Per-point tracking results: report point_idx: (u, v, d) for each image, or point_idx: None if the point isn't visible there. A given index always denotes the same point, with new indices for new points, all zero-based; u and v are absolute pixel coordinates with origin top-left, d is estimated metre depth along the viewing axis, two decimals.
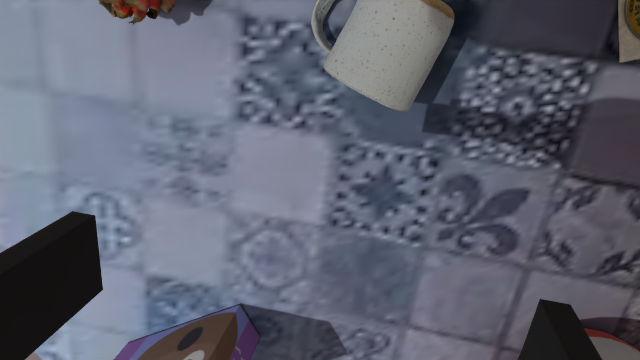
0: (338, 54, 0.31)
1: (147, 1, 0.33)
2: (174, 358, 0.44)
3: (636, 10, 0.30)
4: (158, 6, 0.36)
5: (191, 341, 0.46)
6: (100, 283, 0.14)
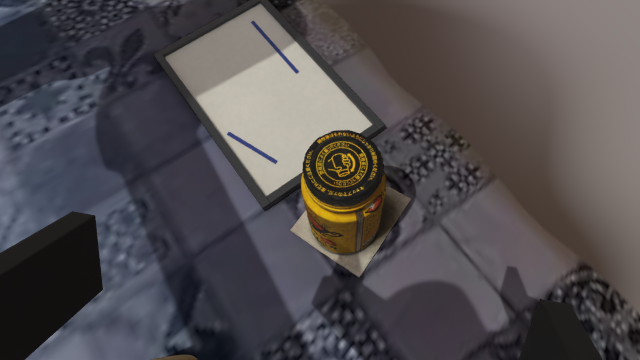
0: None
1: None
2: None
3: (323, 243, 0.35)
4: None
5: None
6: (100, 283, 0.14)
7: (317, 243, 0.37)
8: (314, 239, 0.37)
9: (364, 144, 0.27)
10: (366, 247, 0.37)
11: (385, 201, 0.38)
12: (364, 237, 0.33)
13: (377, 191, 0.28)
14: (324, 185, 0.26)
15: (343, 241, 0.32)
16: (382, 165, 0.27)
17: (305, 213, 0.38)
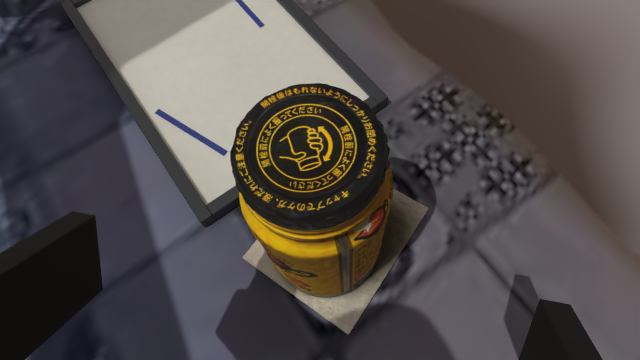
0: None
1: None
2: None
3: (290, 281, 0.22)
4: None
5: None
6: (100, 283, 0.14)
7: (283, 278, 0.24)
8: (279, 271, 0.24)
9: (351, 108, 0.14)
10: (360, 285, 0.23)
11: (389, 211, 0.25)
12: (355, 274, 0.20)
13: (376, 199, 0.14)
14: (269, 188, 0.13)
15: (320, 283, 0.19)
16: (386, 148, 0.14)
17: None
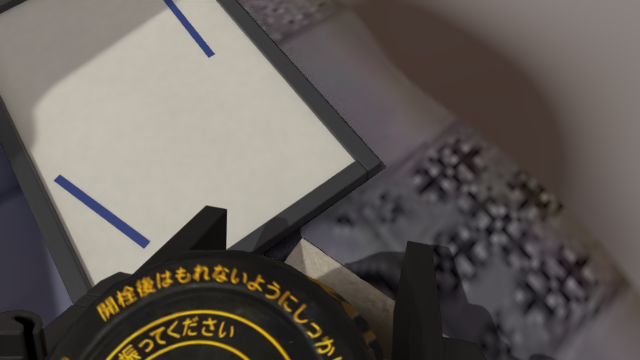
0: None
1: None
2: None
3: None
4: None
5: None
6: None
7: None
8: None
9: (303, 331, 0.06)
10: None
11: None
12: None
13: None
14: None
15: None
16: None
17: None
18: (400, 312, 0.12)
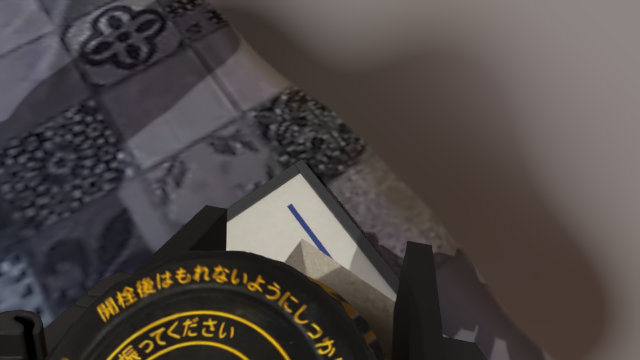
0: None
1: None
2: None
3: None
4: None
5: None
6: None
7: None
8: None
9: (303, 332, 0.06)
10: None
11: None
12: None
13: None
14: None
15: None
16: None
17: None
18: (400, 312, 0.12)
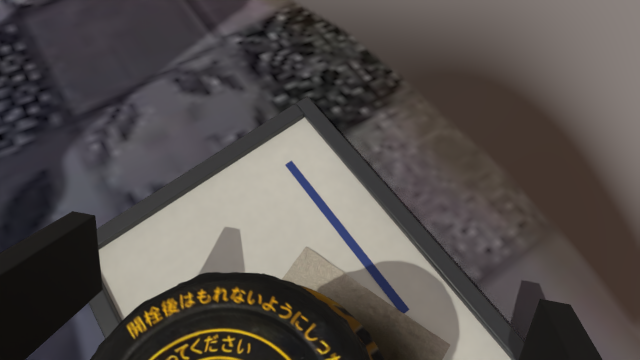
0: None
1: None
2: None
3: None
4: None
5: None
6: (100, 283, 0.14)
7: None
8: None
9: (313, 348, 0.07)
10: None
11: (393, 348, 0.17)
12: None
13: None
14: None
15: None
16: None
17: None
18: None
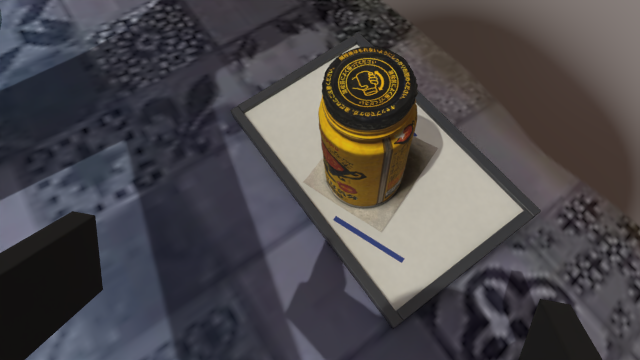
0: None
1: None
2: None
3: (341, 192, 0.31)
4: None
5: None
6: (100, 283, 0.14)
7: (333, 196, 0.33)
8: (330, 191, 0.33)
9: (394, 60, 0.23)
10: (388, 200, 0.33)
11: (409, 151, 0.34)
12: (388, 182, 0.29)
13: (409, 116, 0.24)
14: (347, 104, 0.22)
15: (365, 186, 0.29)
16: (416, 83, 0.23)
17: (319, 164, 0.34)
18: None
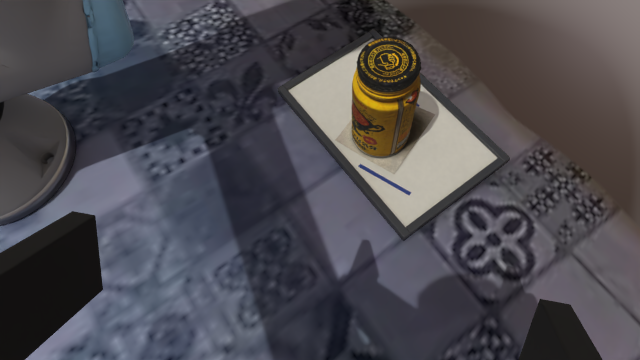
0: None
1: None
2: None
3: (365, 145, 0.43)
4: None
5: None
6: (100, 283, 0.14)
7: (358, 149, 0.45)
8: (355, 146, 0.45)
9: (405, 46, 0.35)
10: (399, 151, 0.44)
11: (413, 117, 0.46)
12: (400, 135, 0.41)
13: (415, 83, 0.35)
14: (375, 75, 0.34)
15: (383, 137, 0.40)
16: None
17: (347, 127, 0.46)
18: None
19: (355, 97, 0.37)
